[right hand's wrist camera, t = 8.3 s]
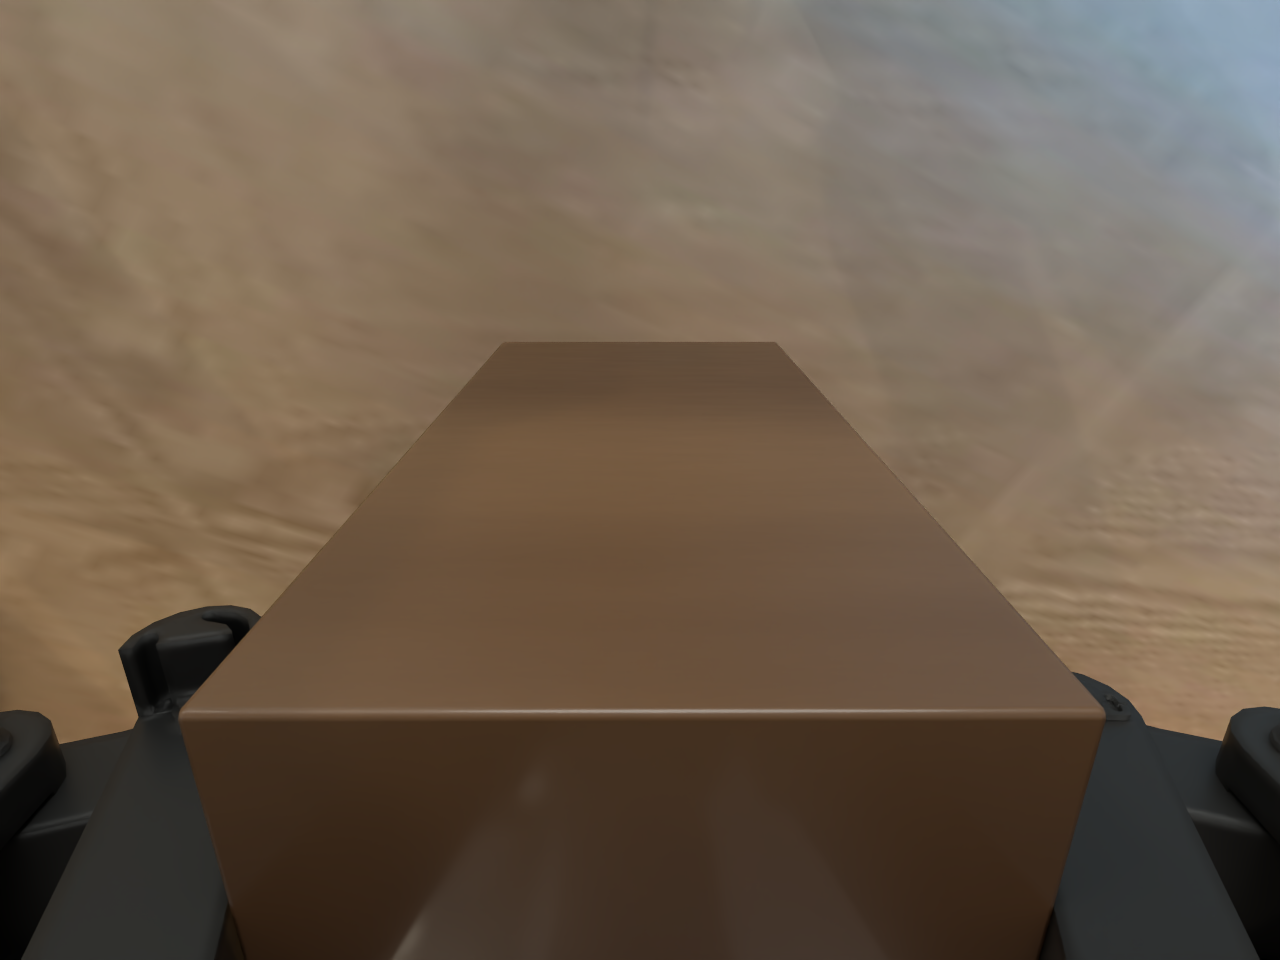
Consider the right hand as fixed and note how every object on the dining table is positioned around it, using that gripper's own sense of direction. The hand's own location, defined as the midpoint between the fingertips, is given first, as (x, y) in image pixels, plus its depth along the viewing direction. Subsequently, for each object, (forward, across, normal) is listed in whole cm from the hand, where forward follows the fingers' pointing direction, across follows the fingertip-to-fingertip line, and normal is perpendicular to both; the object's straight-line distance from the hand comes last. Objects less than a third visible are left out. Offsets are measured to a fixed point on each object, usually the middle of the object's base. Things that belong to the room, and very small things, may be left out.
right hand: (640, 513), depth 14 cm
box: (+2, 0, -10) cm, 11 cm away
